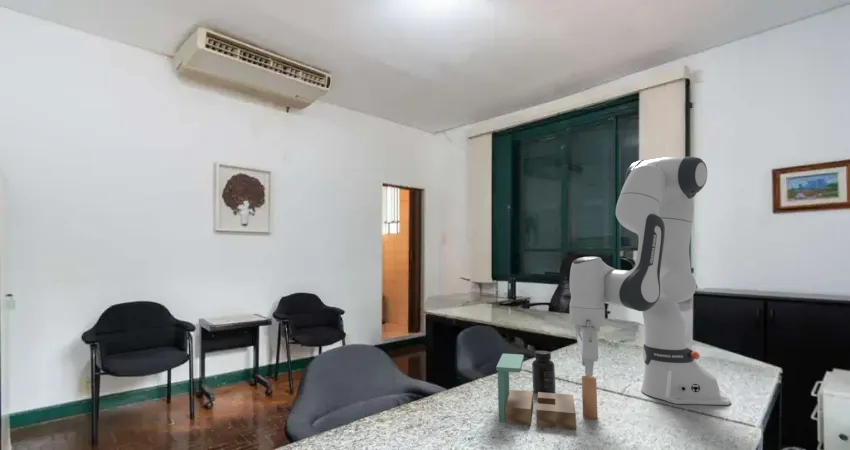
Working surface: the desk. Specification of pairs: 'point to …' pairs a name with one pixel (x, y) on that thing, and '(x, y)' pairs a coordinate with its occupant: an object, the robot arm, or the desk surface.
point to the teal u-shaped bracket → (506, 378)
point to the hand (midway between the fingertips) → (587, 370)
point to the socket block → (541, 409)
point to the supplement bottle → (543, 373)
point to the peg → (589, 397)
